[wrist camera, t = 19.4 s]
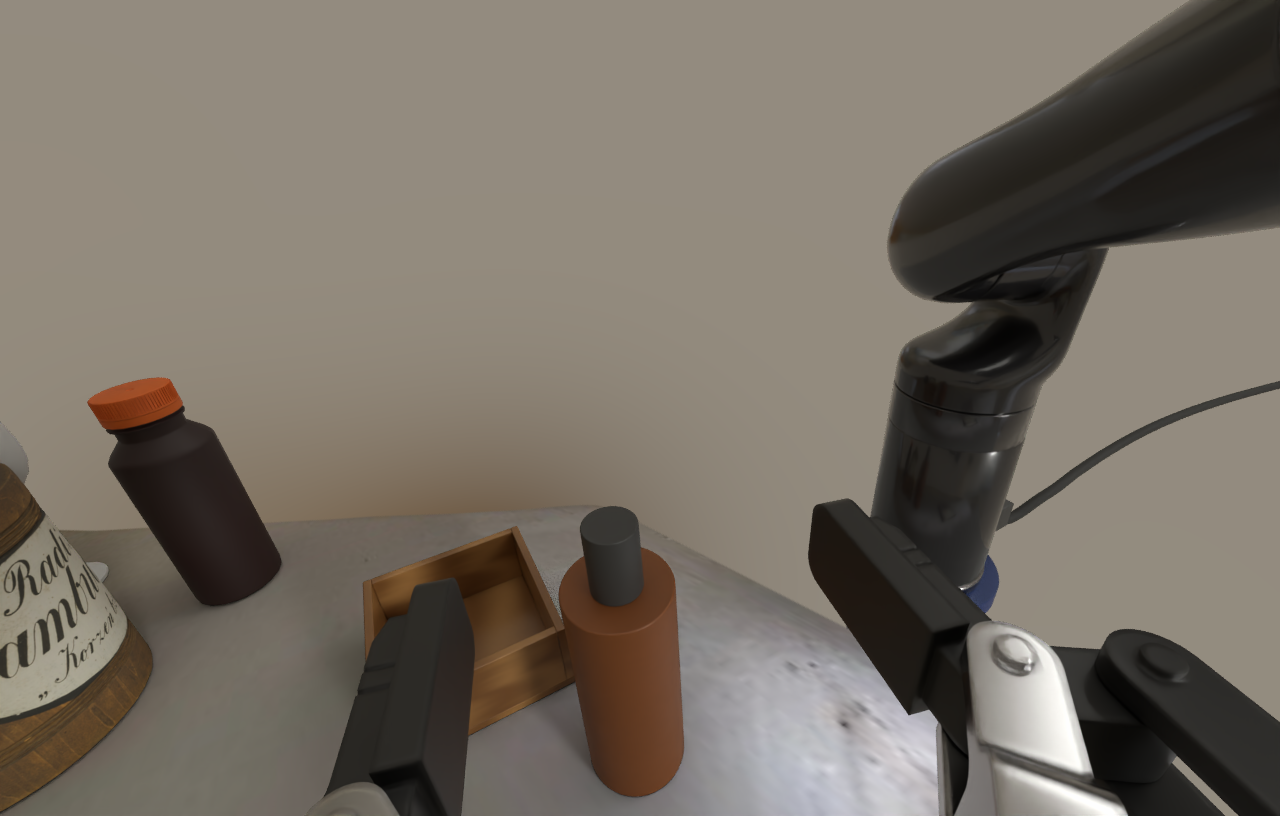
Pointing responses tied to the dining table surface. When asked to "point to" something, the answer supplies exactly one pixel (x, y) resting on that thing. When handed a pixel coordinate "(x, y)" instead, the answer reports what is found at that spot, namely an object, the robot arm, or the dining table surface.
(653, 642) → the sauce bottle
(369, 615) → the wooden box
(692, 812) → the dining table surface
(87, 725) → the wooden container
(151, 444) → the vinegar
